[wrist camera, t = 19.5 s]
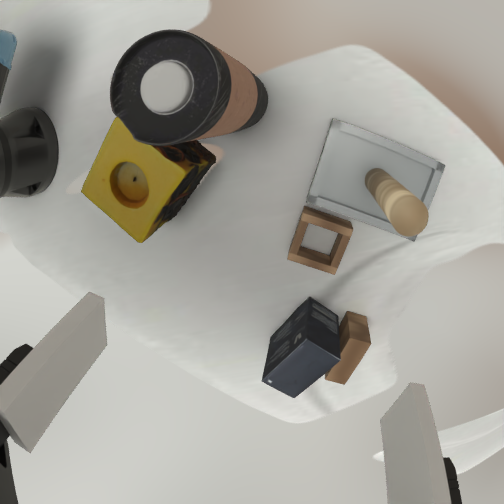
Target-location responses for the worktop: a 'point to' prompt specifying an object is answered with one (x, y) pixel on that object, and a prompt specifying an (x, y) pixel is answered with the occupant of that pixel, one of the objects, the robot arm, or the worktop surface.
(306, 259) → the socket
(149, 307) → the worktop surface
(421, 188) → the tray
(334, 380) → the wooden block
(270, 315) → the worktop surface
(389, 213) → the dowel
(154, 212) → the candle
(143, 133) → the travel mug
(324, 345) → the box
